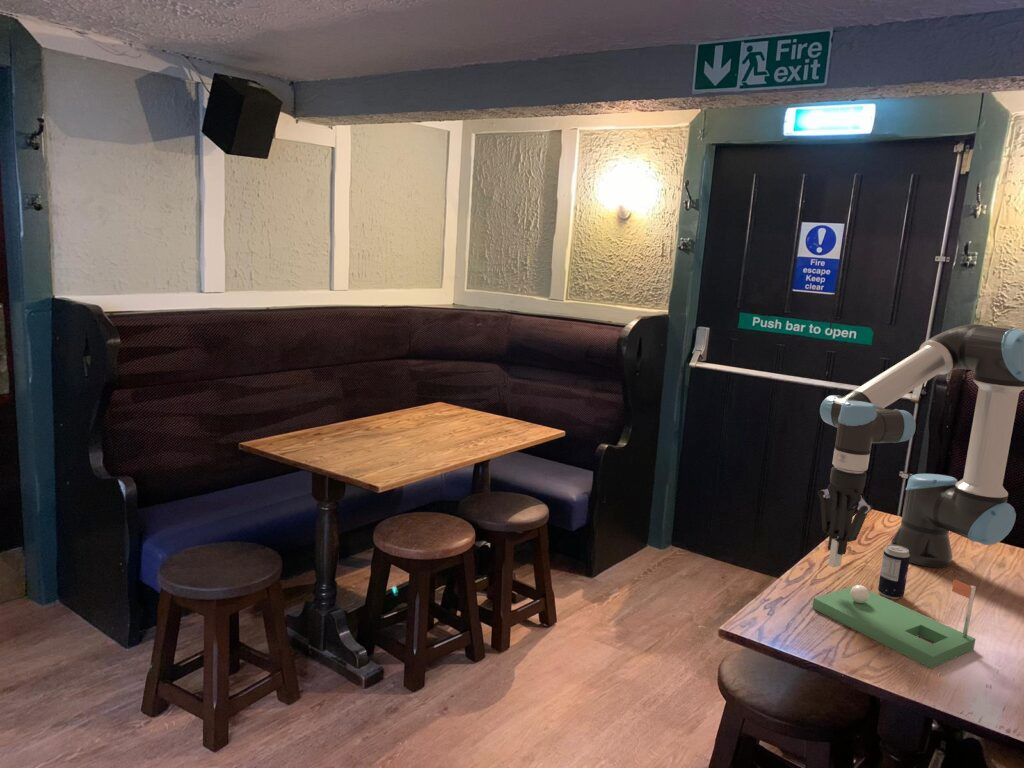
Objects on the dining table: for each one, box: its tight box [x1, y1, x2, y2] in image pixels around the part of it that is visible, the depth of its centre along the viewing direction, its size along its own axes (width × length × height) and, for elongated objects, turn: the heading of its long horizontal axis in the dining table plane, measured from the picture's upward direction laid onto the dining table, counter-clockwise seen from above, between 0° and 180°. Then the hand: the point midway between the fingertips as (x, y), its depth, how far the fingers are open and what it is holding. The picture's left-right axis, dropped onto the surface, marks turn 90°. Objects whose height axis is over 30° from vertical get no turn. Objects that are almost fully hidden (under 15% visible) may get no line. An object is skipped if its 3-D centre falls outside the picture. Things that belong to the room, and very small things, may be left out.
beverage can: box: [877, 544, 910, 600], centre depth 187 cm, size 6×6×12 cm
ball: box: [850, 584, 870, 603], centre depth 177 cm, size 4×4×4 cm
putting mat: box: [812, 584, 976, 669], centre depth 171 cm, size 16×28×2 cm, turn 32°
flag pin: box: [951, 579, 977, 638], centre depth 165 cm, size 1×4×14 cm, turn 32°
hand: (834, 565), depth 182 cm, fingers closed
